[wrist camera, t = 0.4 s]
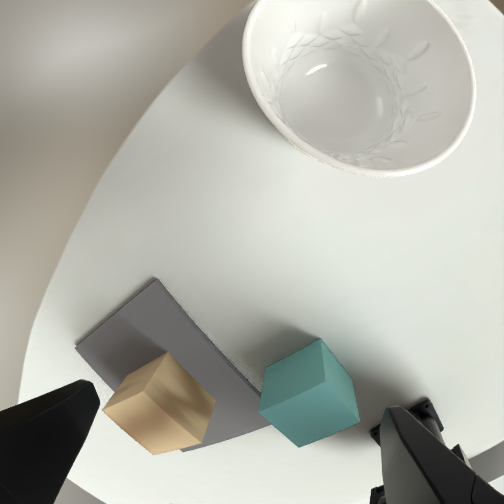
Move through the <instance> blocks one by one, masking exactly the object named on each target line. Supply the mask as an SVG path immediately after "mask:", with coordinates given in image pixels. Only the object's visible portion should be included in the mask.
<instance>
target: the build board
mask: <svg viewBox="0 0 504 504" xmlns="http://www.w3.org/2000/svg"><path fill="white" fill-rule="evenodd" d="M75 349H76V350H77V351H78V353H79V354H80V355H81V356H82V357H83V358H84V360H85V361H86V362H87V363H88V364H89V365H90V366H91V368H92V369H93V370H94V371H95V372H96V373H97V374H98V375H99V376H100V377H101V378H102V379H103V381H104V382H105V383H106V384H107V385H108V386H109V387H110V388H111V389H112V390H113V391H114V392H115V391H116V390H117V389H118V387H119V386H120V384H121V383H122V382H123V380H124V379H125V378H126V376H127V375H129V374H131V373H132V372H134V371H136V370H138V369H139V368H141V367H143V366H145V365H146V364H148V363H150V362H151V361H153V360H155V359H157V358H158V357H160V356H162V355H163V354H165V353H167V352H169V353H170V354H171V355H172V356H173V358H174V359H175V360H176V361H177V362H178V363H179V364H180V365H181V366H182V367H183V368H184V369H185V370H186V371H187V372H188V373H189V374H190V375H191V376H192V377H193V378H194V379H195V380H196V381H197V382H198V383H199V384H200V385H201V386H202V387H203V388H204V389H205V390H206V391H207V392H208V393H209V394H210V395H211V396H212V397H213V398H214V399H216V402H215V405H214V408H213V411H212V414H211V417H210V420H209V423H208V426H207V429H206V432H205V435H204V438H203V441H202V443H200V444H197V445H193V446H189V447H186V448H182V449H180V450H181V451H182V452H186V451H190V450H194V449H198V448H201V447H205V446H208V445H212V444H215V443H219V442H222V441H225V440H228V439H232V438H235V437H238V436H241V435H244V434H247V433H249V432H252V431H255V430H258V429H261V428H263V427H266V426H269V425H271V423H270V422H269V421H268V420H267V419H265V418H264V417H263V416H262V415H261V414H260V413H259V412H258V411H259V405H260V399H261V393H260V392H259V391H258V390H257V389H256V388H255V387H254V386H253V385H252V384H251V383H250V382H249V381H248V380H247V379H246V378H245V377H244V376H243V375H242V374H241V373H240V372H239V371H238V370H237V369H236V368H235V367H234V366H233V365H232V364H231V363H230V362H229V361H228V359H227V358H226V357H225V356H224V355H223V354H222V353H221V352H220V351H219V350H218V349H217V348H216V347H215V345H214V344H213V343H212V342H211V341H210V340H209V339H208V338H207V337H206V335H205V334H204V333H203V332H202V331H201V330H200V329H199V328H198V326H197V325H196V324H195V323H194V322H193V321H192V320H191V318H190V317H189V316H188V315H187V314H186V313H185V311H184V310H183V309H182V308H181V307H180V306H179V304H178V303H177V302H176V301H175V300H174V298H173V297H172V296H171V295H170V294H169V292H168V291H167V290H166V289H165V287H164V286H163V285H162V284H161V283H160V281H159V280H158V279H156V280H155V281H154V282H153V283H151V284H150V285H149V286H148V287H146V288H145V289H144V290H143V291H142V292H140V293H139V294H138V295H137V296H135V297H134V298H133V299H132V300H131V301H129V302H128V303H127V304H126V305H125V306H123V307H122V308H121V309H120V310H118V311H117V312H116V313H115V314H114V315H113V316H111V317H110V318H109V319H108V320H107V321H105V322H104V323H103V324H102V325H101V326H99V327H98V328H97V329H96V330H95V331H94V332H92V333H91V334H90V335H89V336H88V337H87V338H85V339H84V340H83V341H82V342H81V343H80V344H79V345H77V346H76V347H75Z"/></svg>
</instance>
